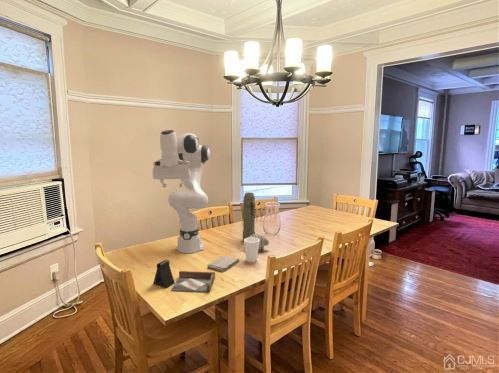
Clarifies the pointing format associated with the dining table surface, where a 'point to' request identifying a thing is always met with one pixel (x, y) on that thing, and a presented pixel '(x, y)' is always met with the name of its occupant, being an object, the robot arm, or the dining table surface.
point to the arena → (194, 281)
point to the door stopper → (163, 275)
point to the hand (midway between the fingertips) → (173, 187)
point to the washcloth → (223, 263)
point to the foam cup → (251, 248)
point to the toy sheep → (262, 241)
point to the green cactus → (248, 215)
